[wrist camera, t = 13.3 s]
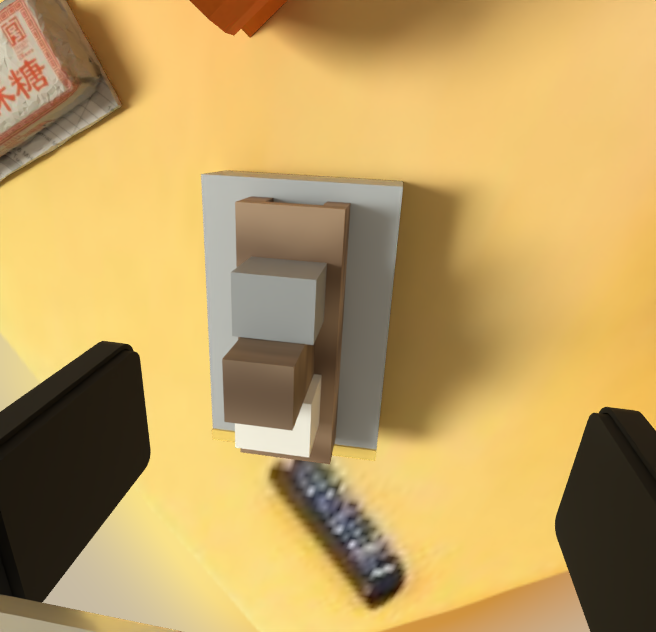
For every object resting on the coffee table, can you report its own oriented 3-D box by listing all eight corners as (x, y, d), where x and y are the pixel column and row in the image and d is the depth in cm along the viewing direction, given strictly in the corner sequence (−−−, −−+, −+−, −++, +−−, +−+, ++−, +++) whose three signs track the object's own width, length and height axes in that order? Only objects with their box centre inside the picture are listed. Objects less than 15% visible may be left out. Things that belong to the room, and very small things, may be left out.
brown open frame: (251, 196, 32) (187, 218, 23) (350, 202, 32) (328, 228, 22) (253, 427, 39) (205, 519, 29) (335, 437, 38) (313, 536, 29)
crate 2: (252, 367, 33) (234, 395, 29) (321, 374, 33) (311, 404, 29) (253, 415, 35) (235, 447, 31) (319, 423, 34) (309, 457, 30)
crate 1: (251, 256, 30) (230, 272, 27) (326, 263, 30) (316, 280, 26) (251, 313, 32) (232, 336, 28) (323, 321, 31) (313, 345, 27)
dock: (226, 170, 37) (200, 174, 32) (402, 181, 35) (403, 186, 31) (232, 408, 45) (212, 440, 40) (377, 426, 43) (375, 462, 38)
